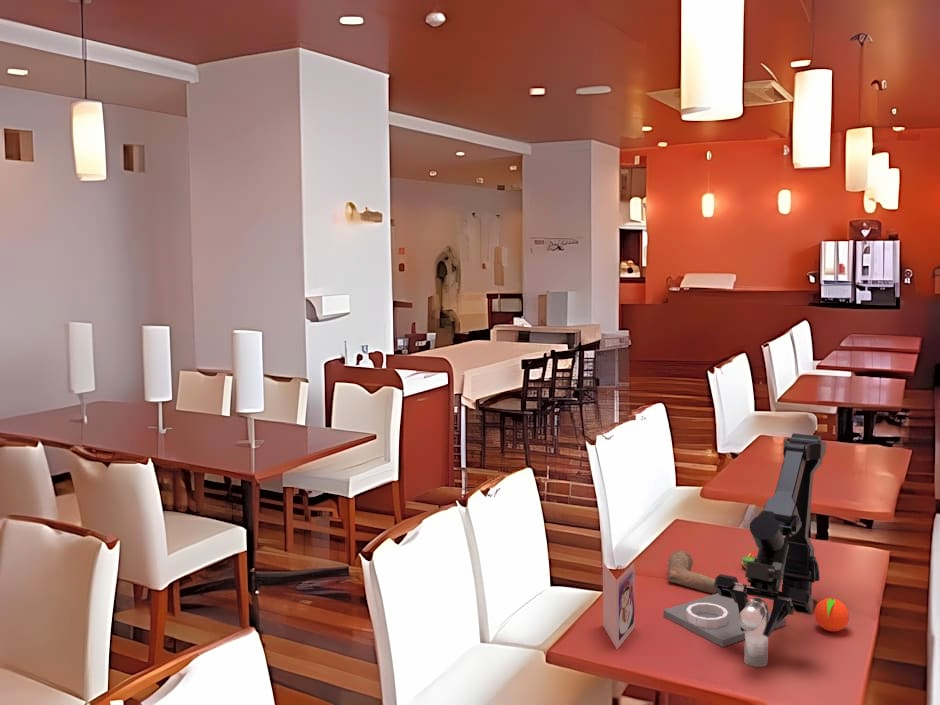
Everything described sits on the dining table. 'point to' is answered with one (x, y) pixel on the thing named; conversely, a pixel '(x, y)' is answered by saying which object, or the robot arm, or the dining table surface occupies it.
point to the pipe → (688, 573)
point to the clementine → (831, 614)
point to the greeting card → (619, 604)
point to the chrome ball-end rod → (755, 632)
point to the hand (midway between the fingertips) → (754, 633)
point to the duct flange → (711, 619)
